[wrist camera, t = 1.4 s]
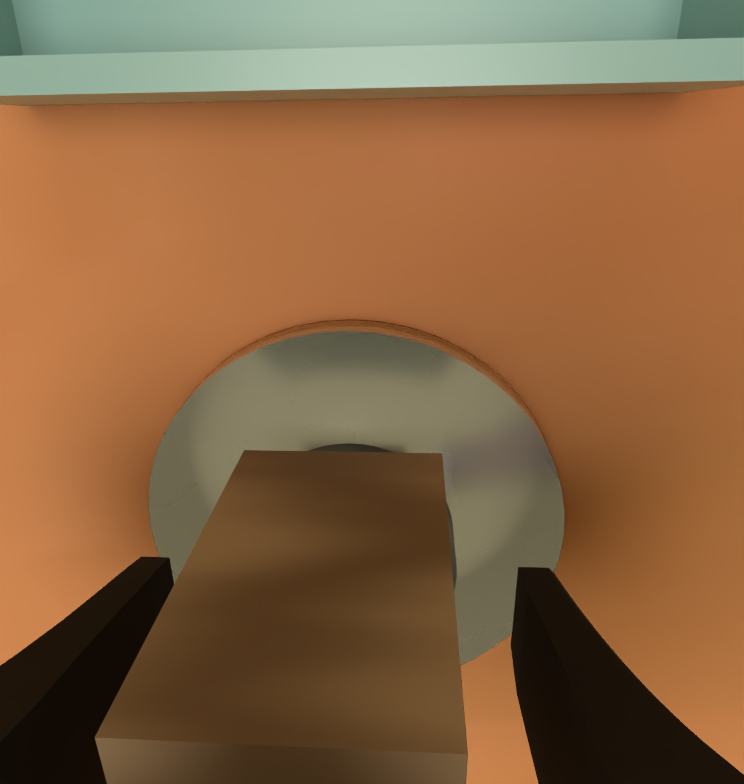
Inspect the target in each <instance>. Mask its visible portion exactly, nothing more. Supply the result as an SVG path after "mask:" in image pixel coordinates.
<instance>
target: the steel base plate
mask: <svg viewBox="0 0 744 784" xmlns="http://www.w3.org/2000/svg"><path fill="white" fill-rule="evenodd" d="M345 443H353V444H365V445H370V446H375V447H379V448H383V449H386V450H389V451H392V452H394V453H442V456H443V468H444V480H445V492H446V501H447V504H448V507H449V509H450V512H451V517H452V523H453V533H454V543H455V553H456V564H457V578H456V586H455V590H454V598H455V609H456V621H457V633H458V645H459V657H460V665H462V664H464V663H466V662H469V661H471V660H473V659H474V658H476V657H478V656H480V655H481V654H483V653H485V652H486V651H488V650H490V649H491V648H493V647H494V646H495V645H497V644H498V643H499V642H501V641H502V640H503V639H504V638H506V637H507V636H508V635H510V634H511V633H512V627H513V616H514V606H515V595H516V584H517V573H518V567H540V568H550V569H551V570H552V572H553V573H554V571H555V568H556V566H557V563H558V560H559V557H560V552H561V547H562V542H563V537H564V517H565V512H564V503H563V494H562V488H561V484H560V481H559V477H558V474H557V470H556V467H555V464H554V461H553V459H552V456H551V454H550V452H549V449H548V447H547V444H546V442H545V440H544V438H543V436H542V433H541V431H540V429H539V427H538V425H537V422H536V421H535V419H534V418H533V416H532V415H531V413H530V412H529V410H528V409H527V407H526V406H525V404H524V402H523V401H522V400H521V399H520V398H519V396H518V395H517V394H516V393H515V392H514V391H513V390H512V388H511V387H510V386H509V385H508V384H507V383H506V382H505V381H504V380H503V379H502V378H501V377H500V376H498V375H497V374H496V373H495V372H494V371H493V370H491V369H490V368H489V367H488V366H487V365H486V364H484V363H483V362H481V361H480V360H478V359H477V358H475V357H474V356H472V355H471V354H469V353H467V352H466V351H464V350H463V349H461V348H459V347H457V346H455V345H453V344H451V343H449V342H447V341H445V340H442V339H440V338H438V337H436V336H433V335H430V334H427V333H424V332H421V331H418V330H415V329H412V328H409V327H404V326H399V325H394V324H389V323H384V322H376V321H361V320H340V321H324V322H317V323H312V324H307V325H302V326H297V327H293V328H290V329H287V330H284V331H281V332H278V333H275V334H272V335H269V336H266V337H264V338H262V339H260V340H258V341H256V342H254V343H252V344H250V345H248V346H246V347H244V348H243V349H241V350H240V351H238V352H237V353H235V354H234V355H232V356H231V357H229V358H228V359H226V360H225V361H224V362H222V363H221V364H220V365H219V366H218V367H217V368H216V369H215V370H214V371H212V372H211V373H210V374H209V375H208V376H207V377H206V378H205V379H204V380H203V381H202V382H201V384H200V385H199V386H198V387H197V389H196V390H195V391H194V392H193V393H192V395H191V396H190V397H189V398H188V400H187V401H186V402H185V403H184V405H183V406H182V407H181V408H180V410H179V411H178V412H177V413H176V415H175V416H174V418H173V419H172V421H171V423H170V425H169V426H168V428H167V430H166V432H165V433H164V435H163V437H162V440H161V442H160V445H159V447H158V450H157V453H156V455H155V458H154V462H153V467H152V472H151V477H150V482H149V504H148V505H149V514H150V523H151V529H152V533H153V537H154V541H155V544H156V548H157V551H158V553H159V556H160V557H169V558H170V563H171V569H172V574H173V580H174V584H175V582H176V580H177V578H178V576H179V574H180V572H181V570H182V569H183V567H184V565H185V563H186V561H187V559H188V557H189V555H190V553H191V551H192V549H193V547H194V545H195V544H196V542H197V540H198V538H199V536H200V534H201V532H202V530H203V528H204V526H205V524H206V522H207V520H208V519H209V517H210V515H211V513H212V511H213V509H214V507H215V505H216V503H217V501H218V499H219V497H220V495H221V494H222V492H223V490H224V488H225V486H226V484H227V482H228V480H229V478H230V476H231V474H232V472H233V470H234V469H235V467H236V465H237V463H238V461H239V459H240V457H241V455H242V453H243V451H244V450H268V451H309V450H311V449H315V448H318V447H322V446H327V445H333V444H345Z"/></svg>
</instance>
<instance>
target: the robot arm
mask: <svg viewBox="0 0 744 784" xmlns="http://www.w3.org/2000/svg"><path fill="white" fill-rule="evenodd" d="M173 586H174V580H173V574H172V569H171V563H170V558H169V557H140V558H139V559H138V560H136V561H135V562H134V563H132V564H131V565H130V566H129V567H127V568H126V569H125V570H124V571H123V572H121V573H120V574H119V575H118V576H116V577H115V578H114V579H113V580H112V581H110V582H109V583H108V584H107V585H106V586H104V587H103V588H102V589H101V590H99V591H98V592H97V593H96V594H95V595H93V596H92V597H91V598H90V599H88V600H87V601H86V602H85V603H83V604H82V605H81V606H80V607H78V608H77V609H76V610H75V611H73V612H72V613H71V614H70V615H69V616H67V617H66V618H65V619H64V620H62V621H61V622H60V623H58V624H57V625H56V626H54V627H53V628H52V629H50V630H49V631H48V632H46V633H45V634H44V635H42V636H41V637H39V638H38V639H37V640H35V641H34V642H33V643H31V644H30V645H29V646H27V647H26V648H25V649H23V650H22V651H21V652H19V653H18V654H17V655H15V656H14V657H12V658H11V659H9V660H8V661H7V662H5V663H4V664H2V665H1V666H0V784H107V782H106V778H105V774H104V770H103V767H102V763H101V759H100V756H99V752H98V748H97V744H96V741H95V736H96V734H97V732H98V730H99V728H100V726H101V724H102V722H103V720H104V719H105V717H106V715H107V713H108V711H109V709H110V707H111V705H112V703H113V701H114V699H115V697H116V695H117V694H118V692H119V690H120V688H121V686H122V684H123V682H124V680H125V678H126V676H127V674H128V672H129V670H130V669H131V667H132V665H133V663H134V661H135V659H136V657H137V655H138V653H139V651H140V649H141V647H142V645H143V644H144V642H145V640H146V638H147V636H148V634H149V632H150V630H151V628H152V626H153V624H154V622H155V620H156V619H157V617H158V615H159V613H160V611H161V609H162V607H163V605H164V603H165V601H166V599H167V597H168V595H169V594H170V592H171V590H172V588H173ZM511 650H512V658H513V666H514V674H515V682H516V689H517V696H518V700H519V704H520V709H521V713H522V717H523V721H524V725H525V730H526V734H527V738H528V742H529V746H530V750H531V754H532V758H533V763H534V767H535V771H536V775H537V779H538V783H539V784H744V775H743V774H742V773H741V772H740V771H738V770H737V769H736V768H735V767H734V766H732V765H731V764H730V763H729V762H727V761H726V760H725V759H724V758H723V757H721V756H720V755H719V754H718V753H716V752H715V751H714V750H713V749H712V748H710V747H709V746H708V745H707V744H705V743H704V742H703V741H702V740H701V739H700V738H698V737H697V736H696V735H695V734H694V733H693V732H692V731H690V730H689V729H688V728H687V727H686V726H685V725H684V724H683V723H682V722H681V721H680V720H679V719H678V718H676V717H675V716H674V715H673V714H672V713H671V712H670V711H669V710H668V709H667V708H666V707H665V706H664V705H663V704H662V703H661V702H660V701H659V700H658V699H657V698H656V697H655V696H654V695H653V694H652V693H651V692H650V691H649V690H648V689H647V688H646V687H645V686H644V685H643V684H642V682H641V681H640V680H639V679H638V678H637V677H636V676H635V675H634V674H633V673H632V672H631V670H630V669H629V668H628V667H627V666H626V665H625V664H624V663H623V662H622V660H621V659H620V658H619V657H618V656H617V655H616V653H615V652H614V651H613V650H612V649H611V648H610V646H609V645H608V644H607V643H606V641H605V640H604V639H603V638H602V637H601V635H600V634H599V633H598V632H597V631H596V629H595V628H594V627H593V626H592V624H591V623H590V622H589V620H588V619H587V618H586V617H585V615H584V614H583V613H582V611H581V610H580V609H579V607H578V606H577V605H576V603H575V602H574V601H573V599H572V598H571V597H570V595H569V594H568V592H567V591H566V590H565V588H564V587H563V585H562V584H561V583H560V581H559V580H558V578H557V577H556V575H555V574H554V573H553V572H552V570H551V569H550V568H540V567H518V573H517V584H516V595H515V606H514V616H513V627H512V638H511Z"/></svg>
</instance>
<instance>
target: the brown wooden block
mask: <svg viewBox="0 0 744 784" xmlns="http://www.w3.org/2000/svg"><path fill="white" fill-rule="evenodd" d="M456 578H457V564H456V553H455V543H454V533H453V523H452V517H451V512H450V509H449V507H448V504H447V501H446V492H445V480H444V468H443V456H442V453H394V452H392V451H389V450H386V449H383V448H379V447H375V446H370V445H365V444H353V443H345V444H333V445H327V446H322V447H318V448H315V449H311V450H309V451H268V450H244V451H243V453H242V455H241V457H240V459H239V461H238V463H237V465H236V467H235V469H234V470H233V472H232V474H231V476H230V478H229V480H228V482H227V484H226V486H225V488H224V490H223V492H222V494H221V495H220V497H219V499H218V501H217V503H216V505H215V507H214V509H213V511H212V513H211V515H210V517H209V519H208V520H207V522H206V524H205V526H204V528H203V530H202V532H201V534H200V536H199V538H198V540H197V542H196V544H195V545H194V547H193V549H192V551H191V553H190V555H189V557H188V559H187V561H186V563H185V565H184V567H183V569H182V570H181V572H180V574H179V576H178V578H177V580H176V582H175V584H174V586H173V588H172V590H171V592H170V594H169V595H168V597H167V599H166V601H165V603H164V605H163V607H162V609H161V611H160V613H159V615H158V617H157V619H156V620H155V622H154V624H153V626H152V628H151V630H150V632H149V634H148V636H147V638H146V640H145V642H144V644H143V645H142V647H141V649H140V651H139V653H138V655H137V657H136V659H135V661H134V663H133V665H132V667H131V669H130V670H129V672H128V674H127V676H126V678H125V680H124V682H123V684H122V686H121V688H120V690H119V692H118V694H117V695H116V697H115V699H114V701H113V703H112V705H111V707H110V709H109V711H108V713H107V715H106V717H105V719H104V720H103V722H102V724H101V726H100V728H99V730H98V732H97V734H96V736H95V741H96V744H97V748H98V752H99V756H100V759H101V763H102V767H103V770H104V774H105V778H106V782H107V784H466V775H467V759H468V751H467V739H466V727H465V716H464V704H463V692H462V680H461V668H460V657H459V645H458V633H457V621H456V609H455V598H454V590H455V586H456Z"/></svg>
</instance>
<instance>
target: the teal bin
mask: <svg viewBox="0 0 744 784" xmlns="http://www.w3.org/2000/svg"><path fill="white" fill-rule="evenodd" d="M738 86H744V0H0V104H4V105H75V104H126V103H177V102H228V101H279V100H330V99H381V98H432V97H483V96H534V95H585V94H636V93H685V92H694V91H703V90H711V89H720V88H729V87H738Z"/></svg>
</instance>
